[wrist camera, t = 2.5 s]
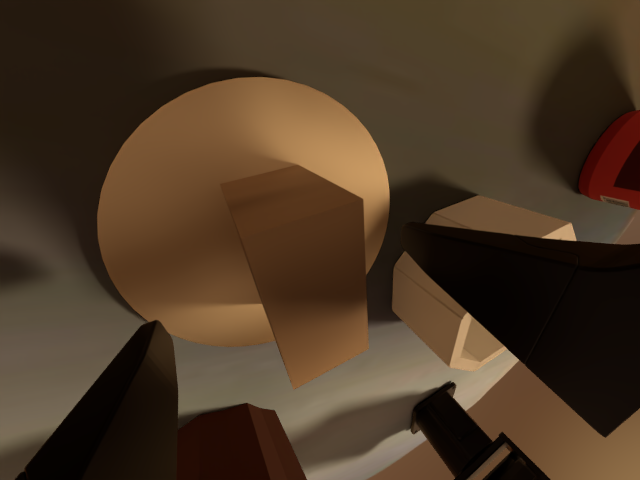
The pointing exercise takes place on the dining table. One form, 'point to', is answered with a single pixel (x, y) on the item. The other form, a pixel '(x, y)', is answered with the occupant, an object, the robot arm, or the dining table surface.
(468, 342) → the hollow octagonal cup
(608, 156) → the canned food
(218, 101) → the lid
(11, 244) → the dining table surface
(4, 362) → the dining table surface
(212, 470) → the muffin
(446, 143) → the dining table surface
